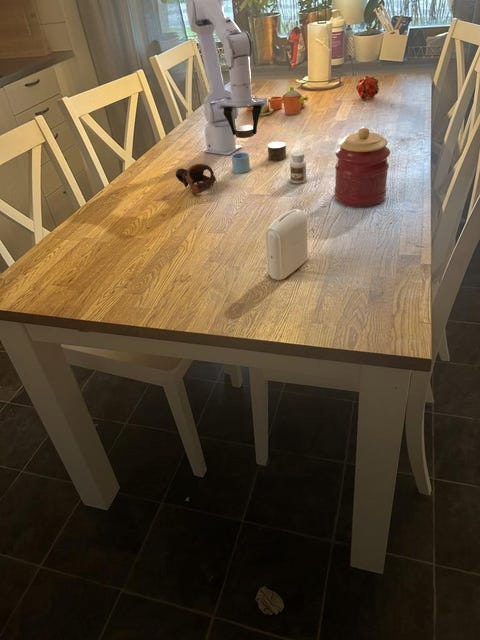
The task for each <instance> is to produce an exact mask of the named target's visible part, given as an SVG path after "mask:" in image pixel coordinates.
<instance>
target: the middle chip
mask: <svg viewBox="0 0 480 640" xmlns="http://www.w3.org/2000/svg"><path fill="white" fill-rule="evenodd" d="M284 152H286V153H287V143H285V142H284V141H283V142H282V141H274V142H270V143H268V144H267V154H268V153H270V154H282V153H284Z"/></svg>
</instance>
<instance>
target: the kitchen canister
mask: <svg viewBox="0 0 480 640" xmlns="http://www.w3.org/2000/svg"><path fill="white" fill-rule="evenodd" d="M338 145H339V147H338V149H337V150H335V156H336V159H337V162H336V163H335V166H334V168H335V181H334V183H335V185H334V198H335V200H336V201H337V202H338V203H339V204H340V205H344V206H346V207H351V208H369V207H373V206H376V205H379V204H381V203H382V202H384V200H385V199H386V195H387V189H388V188H387V179H388V172H389V168H390V167H389V166H390V164H389V162H388V157H389V156H390V155H391V150H390V148H389V147H387V145H388V140H387V139H386V138H385V137H383V136H382V135H381V134H380V133H378V132H377V133H376V132H373V131H370V129H369V128H368V127H365V126H362V127H361V128H359V130H358V132H353V133H350V134H348V135H346V136H345V137H344V138H342V139H341V140H340V141H339V144H338Z"/></svg>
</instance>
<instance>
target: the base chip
mask: <svg viewBox="0 0 480 640" xmlns="http://www.w3.org/2000/svg"><path fill="white" fill-rule="evenodd" d="M267 158H268V160H269V161H273V162H275V161H277V162H278V161H279V162H280V161H283V160H285V159H286V158H287V151H286V152H284V153H282V154H270V153H268V152H267Z"/></svg>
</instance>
